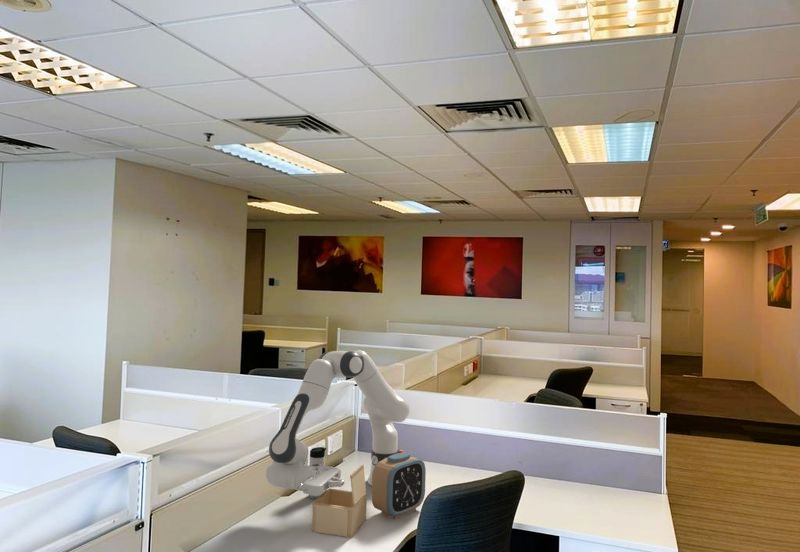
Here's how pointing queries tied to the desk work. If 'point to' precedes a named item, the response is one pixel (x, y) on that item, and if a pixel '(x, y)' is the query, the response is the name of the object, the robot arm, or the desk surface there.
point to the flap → (358, 484)
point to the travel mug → (317, 460)
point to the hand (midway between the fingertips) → (342, 483)
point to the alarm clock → (398, 485)
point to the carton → (338, 513)
